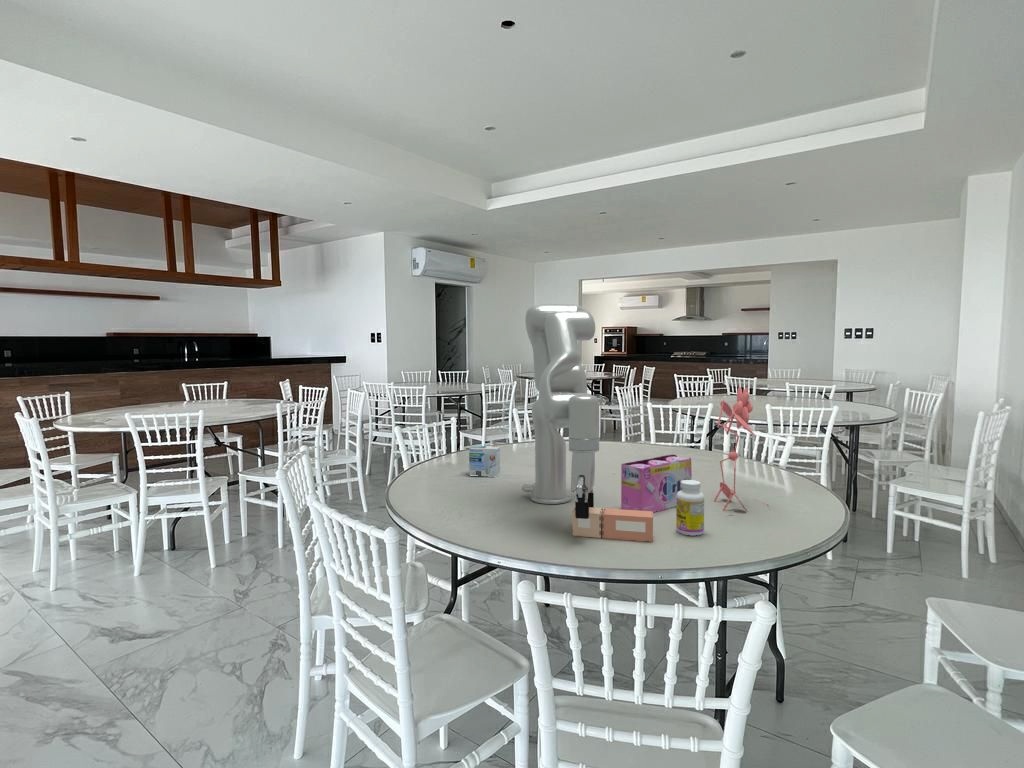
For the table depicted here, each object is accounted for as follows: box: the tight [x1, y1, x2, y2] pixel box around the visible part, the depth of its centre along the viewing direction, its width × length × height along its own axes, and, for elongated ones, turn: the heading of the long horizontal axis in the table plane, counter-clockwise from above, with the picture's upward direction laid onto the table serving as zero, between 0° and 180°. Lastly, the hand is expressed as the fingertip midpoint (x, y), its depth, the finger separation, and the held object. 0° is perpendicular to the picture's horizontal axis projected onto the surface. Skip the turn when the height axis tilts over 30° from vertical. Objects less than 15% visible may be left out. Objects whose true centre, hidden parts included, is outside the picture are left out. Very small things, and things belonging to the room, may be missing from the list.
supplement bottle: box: [675, 479, 705, 537], centre depth 136 cm, size 7×7×13 cm
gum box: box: [620, 454, 693, 513], centre depth 159 cm, size 24×8×14 cm, turn 125°
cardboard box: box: [601, 507, 654, 543], centre depth 133 cm, size 12×5×6 cm, turn 75°
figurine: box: [713, 386, 771, 517], centre depth 157 cm, size 15×26×35 cm, turn 175°
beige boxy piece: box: [572, 507, 604, 539], centre depth 136 cm, size 7×5×6 cm
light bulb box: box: [468, 444, 501, 476], centre depth 200 cm, size 11×7×11 cm, turn 80°
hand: (584, 512), depth 135 cm, fingers open, 9 cm apart
